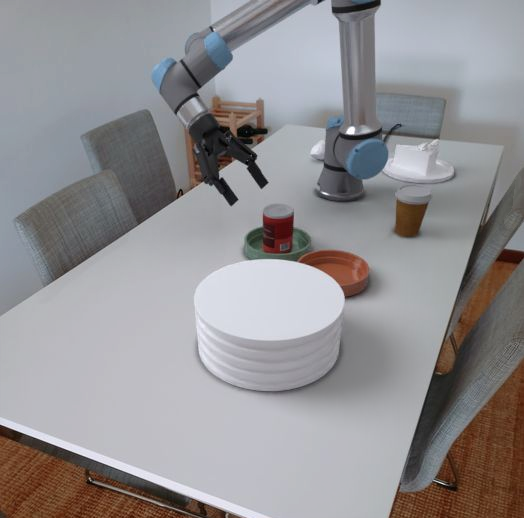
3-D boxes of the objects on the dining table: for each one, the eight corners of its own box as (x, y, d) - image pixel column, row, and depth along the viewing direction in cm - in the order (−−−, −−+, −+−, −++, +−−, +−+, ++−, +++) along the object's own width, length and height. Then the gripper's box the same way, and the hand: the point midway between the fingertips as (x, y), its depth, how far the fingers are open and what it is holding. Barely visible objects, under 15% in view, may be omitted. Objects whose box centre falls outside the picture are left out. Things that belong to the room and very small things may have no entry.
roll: (307, 163, 187) (308, 147, 183) (316, 153, 195) (317, 138, 192) (322, 165, 185) (324, 149, 181) (331, 155, 194) (332, 140, 190)
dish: (461, 167, 184) (469, 134, 177) (440, 188, 168) (448, 153, 161) (396, 155, 195) (402, 123, 188) (371, 174, 178) (375, 140, 171)
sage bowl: (274, 230, 142) (274, 219, 140) (323, 250, 133) (324, 238, 131) (230, 251, 133) (230, 239, 130) (280, 274, 123) (280, 261, 121)
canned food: (295, 245, 135) (297, 205, 128) (287, 259, 129) (288, 218, 122) (268, 241, 137) (268, 201, 130) (258, 254, 131) (258, 213, 124)
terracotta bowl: (324, 255, 131) (325, 243, 129) (381, 278, 122) (383, 265, 120) (280, 280, 121) (281, 267, 119) (339, 307, 112) (340, 294, 110)
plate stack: (362, 374, 94) (371, 324, 87) (215, 404, 88) (211, 353, 81) (309, 297, 115) (312, 251, 108) (187, 316, 109) (182, 269, 102)
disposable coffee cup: (424, 241, 138) (434, 198, 130) (388, 238, 139) (396, 195, 132) (423, 226, 145) (432, 185, 137) (389, 223, 146) (396, 182, 139)
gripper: (221, 120, 136) (267, 187, 139) (158, 144, 120) (212, 219, 123) (237, 101, 130) (285, 171, 133) (172, 123, 114) (229, 202, 117)
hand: (250, 194), depth 128 cm, fingers open, 13 cm apart
